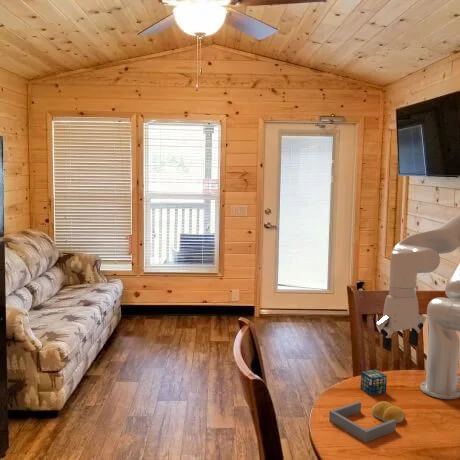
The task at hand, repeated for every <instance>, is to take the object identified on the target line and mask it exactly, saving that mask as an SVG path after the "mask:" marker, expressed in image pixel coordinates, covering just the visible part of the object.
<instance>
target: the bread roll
mask: <svg viewBox="0 0 460 460" xmlns="http://www.w3.org/2000/svg"><path fill="white" fill-rule="evenodd" d="M371 412H372V415H374V417H375V418H377V419H379V420H382V421H383V423H385V422H387V421H390V420H393V419H394V420H396V424H397V423H399V424H400V423H401V422H403V420H404V417H405V414H404V413H405V412H404V411H403V409H402V408H401V407H400V406H397V405H392V403H390V402H388V401H384V400H381V401H379V402H377V403H376V404H373V407H372V408H371Z"/></svg>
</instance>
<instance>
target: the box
mask: <svg viewBox="0 0 460 460" xmlns="http://www.w3.org/2000/svg"><path fill="white" fill-rule="evenodd" d="M361 412H362V402H361V401H356V402H352V403H349V404H347V405H343V406H341V407H338V408H333V409H331V410H329V416H328V418H329V420H328V421H329V422H330V423H332V424H334V425H335V426H336V427H339V428H341V429H342V430H344V431H346V432H347V433H349V434H351V435H352V436H353V437H356V438H357V439H358V440H360V441H362V442H364V443H368V442H371V441H373V440H376V439H379V438H381V437H384V436H386V435H389V434H391V433H393V432H396V427H397V423H396V420H394V419H393V420H390V421H387V422H382V423H380V424H377V425H374V426H372V427H369V428H364V427H363V426H361V425H359V424H357V423H356V422H354V421H352V420H350V419H348V417H350V416H354V415H356V414H359V413H361Z"/></svg>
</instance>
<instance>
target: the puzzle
mask: <svg viewBox="0 0 460 460" xmlns="http://www.w3.org/2000/svg"><path fill="white" fill-rule="evenodd" d="M360 372H361V373H360V389H361V390H362V391H363V392H365V393H367V394H368V395H369V396H371V397H373V396H379V395H383V394H386V393H387V382H388V381H387V380H388V375H386V374H385V373H383V372H381V371H379V370H378V369H376V368H375V369H370V370H365V371H364V370H363V371H360Z"/></svg>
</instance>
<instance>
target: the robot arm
mask: <svg viewBox="0 0 460 460" xmlns="http://www.w3.org/2000/svg"><path fill="white" fill-rule="evenodd" d="M457 249H458V250H459V254H460V214H457V215H455V216H453V217H452V218H451V219H448V221H446V222H445V223H443V224H442V225H440V226H439V227H437V228H436V229H435V228H434V229H431V230H426V231H424V232H419V233H415V234H412V235H409V236H407V237H406V238H404V239H402V240H400V241H399V242H398V243H397V244H396V245H394V247H393V249H392V250H391V252H390V260H389V282H388V283H389V284H388V285H389V286H388V287H389V288H388V289H389V290H388V294H387V295H386V297H385V300H384V305H383V310H382V311H383V313H382V318H381V319H380V320H379V321H377V322H376V324H375V325H376V328H377V331H378V333H380V335H381V336H382V348H383V349H385V351H388V352H391V351H392V346H393V345H392V342H393V340H392V339H393V338H392V337H391V336H392V335H393V333H394V332H398V331H405V330H409V335H408V337H409V338H408V343H409V344H410V345H412V346H414V347H419V334H421V331H422V329H423V327H424V324H425V321H427V323H428V340H427V342H428V343H427V355H426V356H427V357H426V371H425V372H426V373H425V374H426V375H425V381H422V382H421V383H420V390H421V391H422V392H423V393H424V394H425V395H427V396H430V397H433V398H436V399H441V400H456V399H459V398H460V387H458V384H459V383H460V375H458V372H459V371H458V369H459V359H460V358H459V357H460V338H459V335H458V332H459V333H460V259H459V260H458V264H457V265H456V268H455V269H454V270H453V273H452V274H451V275H450V278H449V280H448V281H447V283H446V284H445V285H446V286H445V289H444V293H445V295H446V297H442V296H441V297H439V296H438V297H435V298H432V299H431V300H430V301H429V302H428V304H427V308H426V316H427V317H426V316H424V315H422V314H420V310H419V300H418V295H417V291H418V290H419V287H418V285H417V278H418V277H417V276H418V274H428V273H429V274H430V273H432V272H435V271H436V270H437V269H438V268H439V266H440V265H441V264H440V262H441V257H440V256H441V255H443V254H449V253H452V252H455V251H456V250H457ZM426 319H427V320H426Z"/></svg>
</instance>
